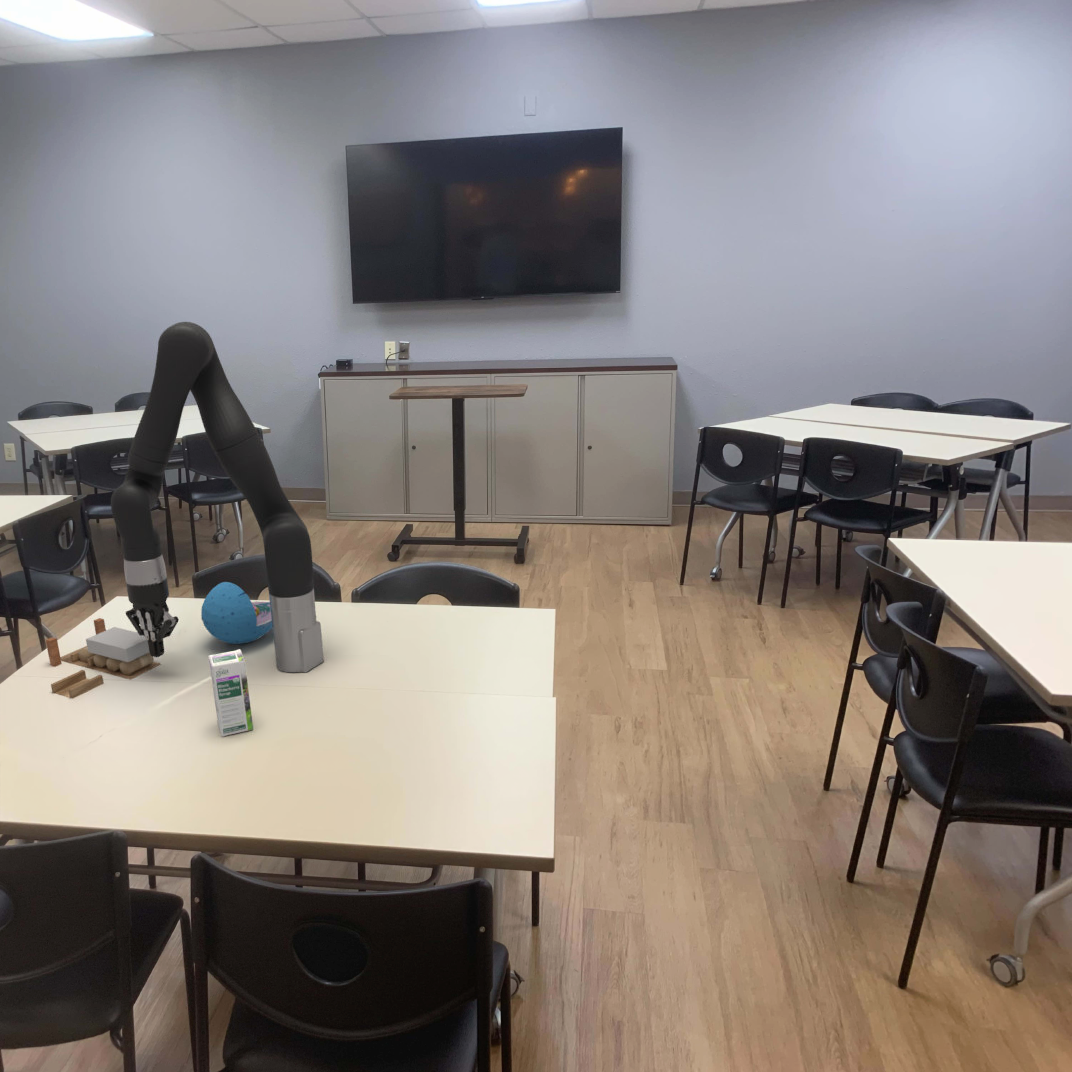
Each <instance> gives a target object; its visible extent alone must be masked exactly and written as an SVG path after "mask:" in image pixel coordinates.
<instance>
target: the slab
mask: <svg viewBox="0 0 1072 1072" xmlns="http://www.w3.org/2000/svg"><path fill="white" fill-rule="evenodd" d="M85 642H86V643H85V644H86V646H87V648H88V652H90V653H94V654H98V655H102V656H106V657H109V658H113V659H117V660H121V661H125V662H130V661H132V660H134V659H136V658H138V657H140V656H142V655H144V654H147V653H149V646H148V640H146V639H145V636H143V635H142V636H140V635H139V634H138V632H137V631H133V630H128V629H125V628H120V627H117V626H114V627H112V628H109V629H106V631H104V632H101V633H99V634H97V635H96V634H95V635H92V636H89V637H88V638H85Z"/></svg>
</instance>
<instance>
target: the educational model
mask: <svg viewBox="0 0 1072 1072" xmlns="http://www.w3.org/2000/svg"><path fill="white" fill-rule="evenodd" d="M201 605H202V606H201V615H200V616H201V620H202V623H203V626H204V627H205V629H206V630H207V632H208V633H209V634H210V635H211V636H212V637H214V638H215V639H216V640H219V641H221V642H224V643H227V644H231V645H233V644H234V645H237V644H238V645H240V644H241V645H242V644H246V643H247V644H248V643H252V642H254V641H256V640H258V639H259V638H261V637H263V636H264V635H266V634H267V633H268V632H270V630H272V629H273V628H272V619H271V609H270V601H256V600H255V601H253V602H252V600H251V599H250V597H249V595H248V594H247V593H245V591H244V590H243V589H242V588H241V587H240V586H238V585H237V584H235V583H232V582H229V581H223V582H222V581H221V582H220V583H218V584H217V585H216V586H214V587H213V588H212V589H211V590H210V591H209V592H208V594H207V595H206V597H205V599H204V601H203V603H202V604H201Z"/></svg>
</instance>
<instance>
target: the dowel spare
mask: <svg viewBox="0 0 1072 1072" xmlns="http://www.w3.org/2000/svg"><path fill="white" fill-rule="evenodd" d="M82 648H83V647H82ZM80 649H81V648H80ZM95 655H97V654H94V653H90V652H88V648H87V647H86V648H83V649H81V650H79V652H78V656H79V658H80V660H81V661H82V662H87V659H88V658H90V657H92V656H95Z"/></svg>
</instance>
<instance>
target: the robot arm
mask: <svg viewBox="0 0 1072 1072" xmlns="http://www.w3.org/2000/svg"><path fill="white" fill-rule="evenodd" d="M154 367H155V368H154V376H153V379H152V384H151V389H150V392H149V396H148V399H147V401H146V405H145V408H144V409H143V413H142V415H141V418H140V420H139V424H138V426H137V429H136V432H135V435H134V437H133V439H132V440H133V441H132V443H131V446H130V449H129V452H128V456H127V457H128V458H127V463H128V465H129V466H128V469H127V471H126V472H127V473H126V475H125V479H124V481H122V484H120V486H118V487H117V488H116V489H114V491H113V492H112V494H111V497H110V507H111V508H110V509H111V516H112V518H113V521H114V524H115V526H116V530H117V532H118V534H119V536H120V540H121V547H122V555H123V570H124V578H125V584H126V590H127V597H128V601H129V603H130V604H132V608H131V609H129V610H127V611H125V616H126V617H127V618H128V620H129V622H130V623H131V624H132V626H133V627H134V629H135V632H138V634H139V635H140V636H142V635H143V636H145V639H146V640H148V646H149V652H150V655H151V656H153V658H159V657H161V656H164V653H165V645H164V639H166V638H168V637H170V636H171V635H172V633H173V631H174V629H175V628H176V626H177V624H178V622H179V617H178V616H176V615H175V616H173V615H172V614H171V613H170V609H169V606H168V604H167V600H168V598H169V596H170V591H169V590H170V589H169V583H168V575H167V568H166V567H167V566H166V563H165V560H164V556H163V549H162V543H161V536H160V532H159V530H158V529H157V528H156V527H155V526H154V524H153V520H152V515H151V514H152V512H151V510H152V509H153V508H154V507H155V505H156V504H157V502H158V501H159V500H158V499H159V497H160V493H161V490H162V485H163V481H164V476H165V470H166V469H167V466H168V463H169V461H170V459H171V458H170V457H171V455H172V452H173V450H174V446H175V444H176V439H177V436H178V433H179V428H180V424H181V419H182V414H183V411H184V407H185V404H186V401H187V399H188V396H189V394H190V392H191V395H192V396H193V398H194V401H195V403H196V406H197V409H198V412H199V415H200V419H201V422H202V425H203V429H204V431H205V434H206V437H207V439H208V442H209V444H210V446H211V449H212V451H213V453H214V454H215V456H216V458H217V460H218V462H219V463H220V466H221V467H222V468H223V470H224V472H225V473H226V475H227V476H228V478H229V479H230V480H231V482H232V484H233V485H234V486H235V487H236V489H237V490H238V491H239V492H240V493H241V495H242V496H243V497H244V499H245V500H246V501H247V503H248V505H249V506H250V508H251V510H252V513H253V515H254V517H255V520H256V522H257V524H258V527H259V530H260V532H261V533H260V534H261V537H262V540H263V541H262V542H263V547H264V548H263V549H264V557H265V567H266V576H267V578H266V579H267V588H268V596H269V597H268V598H269V602H270V609H271V619H272V628H271V629H272V636H273V646H274V654H275V655H274V656H275V664H276V668H277V669H278V670H280V671H281V672H287V673H298V672H299V673H300V672H301V673H302V672H303V673H308V672H309V671H310V670H312V669H314V668H315V667H317V666H318V665H320V664H322V663H323V662H324V661H325V660H324V651H323V649H324V648H323V638H322V637H323V636H322V625H321V622H320V621H317V611H316V599H315V598H316V597H315V589H314V567H313V566H314V565H313V553H312V544H311V543H312V542H311V537H310V534H309V530H308V528H307V526H306V525H305V524H306V523H304V521H303V520H302V519H301V517H300V516H299V514H298V512H296V510H295V508H294V507H293V506H292V504H291V501H290V500H289V499H288V497H287V496H286V493H285V491H284V490H283V488H282V487H281V484H280V481H279V479H278V475H277V472H276V470H275V468H274V467H275V466H274V464H273V462H272V459H271V457H270V455H269V452H268V449H267V448H266V446H265V444H264V441H263V440H262V438H261V435H260V433H259V431H258V430H257V428H256V427H255V425H254V423H253V422H252V419H251V417H250V416H249V413H248V412H247V411H246V408H245V406H244V405H243V404H242V402H241V400H240V399H239V397H238V395H237V394H236V392H235V390H234V389H233V388H232V386H231V383H230V382H229V379H228V377H227V375H226V372H225V370H224V367H223V365H222V363H221V360H220V357H219V355H218V353H217V349H216V346H215V344H214V341H213V338H212V337H211V335H210V334H209V332H208V331H207V330H206V329H204V328H203V327H202V326H200V325H198V324H197V323H195V322H191V321H180V322H177V323H174V324H172V325H170V326H168V327H167V328H166V329H164V330H163V332H162V333H161V334H160V336H159V338H158V342H157V352H156V361H155V366H154Z"/></svg>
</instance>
